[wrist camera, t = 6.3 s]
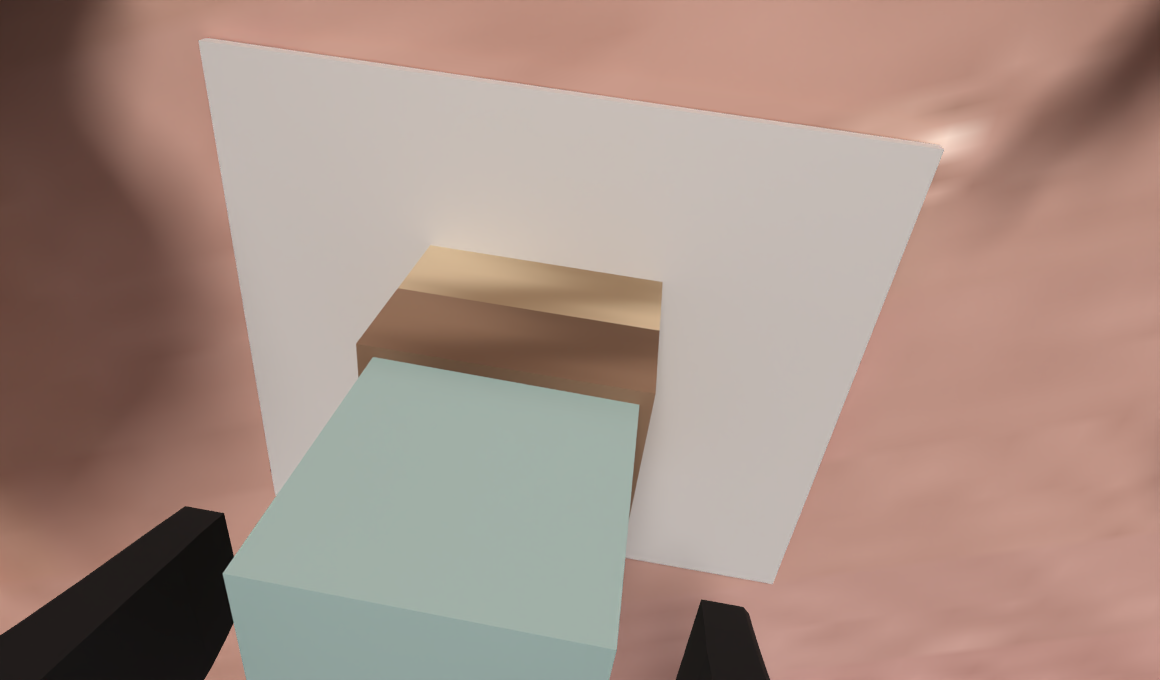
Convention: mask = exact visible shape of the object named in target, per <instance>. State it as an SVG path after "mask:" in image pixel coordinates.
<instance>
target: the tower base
mask: <svg viewBox="0 0 1160 680" xmlns="http://www.w3.org/2000/svg"><path fill="white" fill-rule="evenodd" d="M662 283H663V282H659V281H653V280H647V279H640V278H634V277H628V276H621V275H615V274H609V273H603V272H596V271H590V270H584V269H577V268H571V267H565V266H558V265H552V264H546V263H539V262H533V261H527V260H521V259H514V258H508V257H502V256H495V255H489V254H483V253H476V252H470V251H464V250H458V249H451V248H445V247H439V246H432V245H430V246H429V248H428V249H427V250H426V251H425V253H424V254H423V255H422V257H421V258H420V259H419V261H418V262H417V263H416V265H415V266H414V267H413V269H412V270H411V271H410V273H409V274H408V275H407V277H406V278H405V279H404V281H403V282H402V283H401V285H400V286H399V287H398V288H400V289H406V290H412V291H418V292H424V293H430V294H437V295H443V296H449V297H455V298H461V299H467V300H474V301H480V302H486V303H492V304H498V305H504V306H511V307H517V308H523V309H529V310H535V311H542V312H548V313H554V314H560V315H566V316H572V317H578V318H585V319H591V320H597V321H603V322H609V323H616V324H622V325H628V326H634V327H640V328H646V329H652V330H659V331H660V316H661V299H662Z"/></svg>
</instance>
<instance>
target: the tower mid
mask: <svg viewBox="0 0 1160 680" xmlns="http://www.w3.org/2000/svg"><path fill="white" fill-rule="evenodd" d="M659 332H660V331H659V330H652V329H646V328H640V327H634V326H628V325H622V324H616V323H609V322H603V321H597V320H591V319H585V318H578V317H572V316H566V315H560V314H554V313H548V312H542V311H535V310H529V309H523V308H517V307H511V306H504V305H498V304H492V303H486V302H480V301H474V300H467V299H461V298H455V297H449V296H443V295H437V294H430V293H424V292H418V291H412V290H406V289H400V288H398V289H397V290H396V291H395V293H394V294H393V295H392V297H391V298H390V299H389V301H388V302H387V303H386V305H385V306H384V307H383V309H382V310H381V311H380V312H379V314H378V315H377V316H376V318H375V319H374V320H373V322H372V323H371V324H370V326H369V327H368V328H367V330H366V331H365V332H364V334H363V335H362V336H361V338H360V339H359V340H358V342H357V343H356V352H357V366H358V378H359V376H360V375H361V373H362V372H363V371H364V369H365V368H366V366H367V365H368V363H369V362H370V360H371V359H372V358H373V357H376V358H382V359H387V360H393V361H399V362H404V363H410V364H415V365H421V366H426V367H432V368H438V369H443V370H449V371H454V372H460V373H465V374H471V375H477V376H482V377H488V378H493V379H499V380H504V381H510V382H516V383H521V384H527V385H532V386H538V387H543V388H549V389H555V390H560V391H566V392H571V393H577V394H582V395H588V396H594V397H599V398H605V399H610V400H616V401H621V402H627V403H633V404H638V405H639V416H638V426H637V437H636V448H635V459H634V469H633V480H632V491H631V502H630V512H629V518H630V513H631V508H632V503H633V499H634V494H635V489H636V484H637V480H638V475H639V470H640V465H641V461H642V456H643V451H644V446H645V442H646V437H647V432H648V428H649V423H650V418H651V413H652V409H653V404H654V399H655V394H656V380H657V364H658V348H659Z"/></svg>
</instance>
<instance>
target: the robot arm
mask: <svg viewBox="0 0 1160 680" xmlns="http://www.w3.org/2000/svg"><path fill="white" fill-rule="evenodd" d="M233 558H234V555H233V551H232V547H231V542H230V538H229V533H228V529H227V525H226V520H225V516H224V513H220V512H214V511H209V510H203V509H197V508H192V507H186V506H185V507H184V508H182V509H181V510H179V511H178V512H176V513H175V514H173V515H172V516H171V517H169V518H168V519H166V520H165V521H163V522H162V523H160V524H159V525H158V526H156V527H155V528H153V529H152V530H151V531H149V532H148V533H146V534H145V535H144V536H142V537H141V538H139V539H138V540H137V541H135V542H134V543H132V544H131V545H130V546H128V547H127V548H125V549H124V550H123V551H121V552H120V553H118V554H117V555H116V556H114V557H113V558H111V559H110V560H109V561H107V562H106V563H104V564H103V565H102V566H100V567H99V568H97V569H96V570H95V571H93V572H92V573H90V574H89V575H87V576H86V577H85V578H83V579H82V580H80V581H79V582H78V583H76V584H75V585H73V586H72V587H70V588H69V589H67V590H66V591H65V592H63V593H62V594H60V595H59V596H57V597H56V598H54V599H53V600H52V601H50V602H49V603H47V604H46V605H44V606H43V607H41V608H40V609H39V610H37V611H36V612H34V613H33V614H31V615H30V616H28V617H27V618H26V619H24V620H23V621H21V622H20V623H18V624H17V625H15V626H14V627H12V628H11V629H9V630H8V631H6V632H5V633H3V634H2V635H0V680H204V679H205V677H206V676H207V674H208V672H209V671H210V669H211V667H212V665H213V663H214V661H215V659H216V657H217V656H218V654H219V652H220V650H221V648H222V646H223V644H224V642H225V640H226V638H227V636H228V634H229V631H230V629H231V627H232V625H233V623H234V622H233V618H232V613H231V609H230V604H229V600H228V595H227V591H226V586H225V582H224V578H223V572H224V571H225V569H226V568H227V566H228V565H229V564H230V562H231V561H232V559H233ZM676 680H770V678H769V676H768V673H767V670H766V667H765V664H764V661H763V658H762V655H761V652H760V649H759V646H758V643H757V640H756V636H755V633H754V630H753V627H752V623H751V620H750V616H749V613H748V612H747V611H746V610H745V608H744V607H740V606H735V605H729V604H723V603H718V602H712V601H707V600H701V602H700V605H699V608H698V612H697V615H696V618H695V621H694V624H693V627H692V630H691V634H690V637H689V640H688V643H687V646H686V649H685V653H684V656H683V659H682V662H681V665H680V668H679V671H678V675H677V678H676Z"/></svg>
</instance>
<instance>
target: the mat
mask: <svg viewBox="0 0 1160 680" xmlns="http://www.w3.org/2000/svg"><path fill="white" fill-rule="evenodd" d="M198 41H199V47H200V53H201V59H202V65H203V70H204V76H205V82H206V88H207V94H208V100H209V106H210V112H211V118H212V124H213V130H214V136H215V141H216V147H217V153H218V159H219V165H220V171H221V177H222V183H223V189H224V195H225V201H226V206H227V212H228V218H229V224H230V230H231V236H232V242H233V248H234V254H235V260H236V266H237V272H238V277H239V283H240V289H241V295H242V301H243V307H244V313H245V319H246V325H247V331H248V337H249V343H250V348H251V354H252V360H253V366H254V372H255V378H256V384H257V390H258V396H259V402H260V408H261V414H262V419H263V425H264V431H265V437H266V443H267V449H268V455H269V461H270V467H271V473H272V479H273V485H274V490H275V495H277V494H278V493H279V491H280V490H281V489H282V487H283V486H284V484H285V483H286V481H287V480H288V479H289V477H290V476H291V474H292V473H293V471H294V470H295V468H296V467H297V466H298V464H299V463H300V461H301V460H302V458H303V457H304V455H305V454H306V453H307V451H308V450H309V448H310V447H311V445H312V444H313V443H314V441H315V440H316V438H317V437H318V435H319V434H320V432H321V431H322V430H323V428H324V427H325V425H326V424H327V422H328V421H329V419H330V418H331V417H332V415H333V414H334V412H335V411H336V409H337V408H338V407H339V405H340V404H341V402H342V401H343V399H344V398H345V396H346V395H347V394H348V392H349V391H350V389H351V388H352V386H353V385H354V383H355V382H356V381H357V379H358V366H357V352H356V343H357V342H358V340H359V339H360V338H361V336H362V335H363V334H364V332H365V331H366V330H367V328H368V327H369V326H370V324H371V323H372V322H373V320H374V319H375V318H376V316H377V315H378V314H379V312H380V311H381V310H382V309H383V307H384V306H385V305H386V303H387V302H388V301H389V299H390V298H391V297H392V295H393V294H394V293H395V291H396V290H397V289H398V287H399V286H400V285H401V283H402V282H403V281H404V279H405V278H406V277H407V275H408V274H409V273H410V271H411V270H412V269H413V267H414V266H415V265H416V263H417V262H418V261H419V259H420V258H421V257H422V255H423V254H424V253H425V251H426V250H427V249H428V248H429V246H430V245H432V246H439V247H445V248H451V249H458V250H464V251H470V252H476V253H483V254H489V255H495V256H502V257H508V258H514V259H521V260H527V261H533V262H539V263H546V264H552V265H558V266H565V267H571V268H577V269H584V270H590V271H596V272H603V273H609V274H615V275H621V276H628V277H634V278H640V279H647V280H653V281H659V282H663V283H662V299H661V316H660V332H659V348H658V364H657V380H656V394H655V399H654V404H653V409H652V413H651V418H650V423H649V428H648V432H647V437H646V442H645V446H644V451H643V456H642V461H641V465H640V470H639V475H638V480H637V484H636V489H635V494H634V499H633V503H632V508H631V513H630V518H629V523H628V534H627V544H626V555H625V558H629V559H635V560H641V561H646V562H652V563H657V564H663V565H669V566H674V567H680V568H685V569H691V570H697V571H702V572H708V573H713V574H719V575H725V576H730V577H736V578H741V579H747V580H753V581H758V582H764V583H769V584H773V582H774V579H775V577H776V574H777V572H778V569H779V567H780V564H781V562H782V559H783V557H784V554H785V551H786V549H787V546H788V544H789V541H790V539H791V536H792V534H793V531H794V529H795V526H796V524H797V521H798V519H799V516H800V514H801V511H802V508H803V506H804V503H805V501H806V498H807V496H808V493H809V491H810V488H811V486H812V483H813V481H814V478H815V476H816V473H817V470H818V468H819V465H820V463H821V460H822V458H823V455H824V453H825V450H826V448H827V445H828V443H829V440H830V438H831V435H832V432H833V430H834V427H835V425H836V422H837V420H838V417H839V415H840V412H841V410H842V407H843V405H844V402H845V400H846V397H847V395H848V392H849V389H850V387H851V384H852V382H853V379H854V377H855V374H856V372H857V369H858V367H859V364H860V362H861V359H862V357H863V354H864V351H865V349H866V346H867V344H868V341H869V339H870V336H871V334H872V331H873V329H874V326H875V324H876V321H877V319H878V316H879V313H880V311H881V308H882V306H883V303H884V301H885V298H886V296H887V293H888V291H889V288H890V286H891V283H892V281H893V278H894V276H895V273H896V270H897V268H898V265H899V263H900V260H901V258H902V255H903V253H904V250H905V248H906V245H907V243H908V240H909V238H910V235H911V232H912V230H913V227H914V225H915V222H916V220H917V217H918V215H919V212H920V210H921V207H922V205H923V202H924V200H925V197H926V194H927V192H928V189H929V187H930V184H931V182H932V179H933V177H934V174H935V172H936V169H937V167H938V164H939V162H940V159H941V156H942V154H943V151H944V149H943V148H942V147H941V146H940V145H936V144H930V143H923V142H916V141H909V140H902V139H895V138H889V137H882V136H875V135H868V134H861V133H854V132H848V131H841V130H834V129H827V128H820V127H813V126H807V125H800V124H793V123H786V122H779V121H772V120H765V119H759V118H752V117H745V116H738V115H731V114H724V113H718V112H711V111H704V110H697V109H690V108H683V107H677V106H670V105H663V104H656V103H649V102H642V101H636V100H629V99H622V98H615V97H608V96H601V95H594V94H588V93H581V92H574V91H567V90H560V89H553V88H547V87H540V86H533V85H526V84H519V83H512V82H506V81H499V80H492V79H485V78H478V77H471V76H465V75H458V74H451V73H444V72H437V71H430V70H424V69H417V68H410V67H403V66H396V65H389V64H382V63H376V62H369V61H362V60H355V59H348V58H341V57H335V56H328V55H321V54H314V53H307V52H300V51H294V50H287V49H280V48H273V47H266V46H259V45H253V44H246V43H239V42H232V41H225V40H218V39H211V38H205V39H202V40H198Z"/></svg>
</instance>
